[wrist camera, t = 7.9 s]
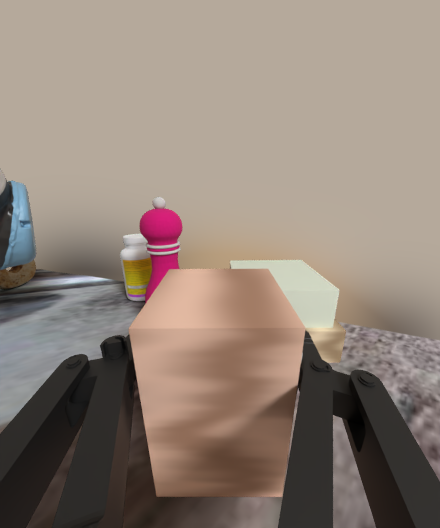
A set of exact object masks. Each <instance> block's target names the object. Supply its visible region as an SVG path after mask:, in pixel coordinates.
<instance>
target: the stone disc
mask: <svg viewBox="0 0 440 528" xmlns="http://www.w3.org/2000/svg"><path fill="white" fill-rule="evenodd" d="M35 270H36V265H35V262H34V260H33V261H31V262H30V263H27V264H23V265H18V266H13V267H12V268H11V270H9V271H7V270H6V269H3V270H0V289H10V288H14V287H17V286H20V285H22V284H24V283H26V282H28V281H29V280H31V279H32V278H33V276H34V274H35Z"/></svg>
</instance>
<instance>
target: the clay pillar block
mask: <svg viewBox="0 0 440 528" xmlns="http://www.w3.org/2000/svg"><path fill="white" fill-rule="evenodd" d="M305 329H306V328H305V326H304V325H303V323H302V321H301V320H300V318H299V317H298V315H297V313H296V312H295V310H294V309H293V307H292V306H291V304H290V302H289V301H288V299H287V298H286V296H285V295H284V293H283V291H282V290H281V288H280V287H279V285H278V283H277V282H276V280H275V279H274V277H273V276H272V274H271V272H270V271H269V269H169V271H168V272H167V273H166V275H165V276H164V278H163V279H162V281H161V282H160V284H159V285H158V287H157V288H156V289H155V291H154V292H153V294H152V295H151V297H150V298H149V300H148V301H147V303H146V304H145V305H144V307H143V308H142V310H141V311H140V313H139V314H138V316H137V317H136V319H135V320H134V321H133V323H132V324H131V326H130V327H129V334H130V340H131V346H132V352H133V358H134V364H135V370H136V376H137V382H138V388H139V394H140V400H141V406H142V412H143V418H144V424H145V430H146V436H147V442H148V448H149V454H150V460H151V466H152V472H153V478H154V484H155V490H156V496H157V497H282V494H283V487H284V480H285V473H286V465H287V458H288V451H289V444H290V437H291V430H292V422H293V415H294V408H295V401H296V394H297V386H298V379H299V372H300V365H301V358H302V351H303V343H304V336H305Z"/></svg>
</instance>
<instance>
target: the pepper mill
mask: <svg viewBox="0 0 440 528" xmlns="http://www.w3.org/2000/svg"><path fill="white" fill-rule="evenodd" d="M165 205H166V203H165V200H164V199H163V198H161V197H156V198H155V199H154V200H153V206H154V208H155V209H152V210H149V211H148V212H146V213H145V214H144V215H143V216H142V218H141V220H140V232H141V234H142V235H143V237H144V238H145V239H146V240H147V241H148V243H146V247H147V250H146V252H147V253H148V254H150V257H151V262H152V273H151V277H150V281H149V283H148V286H147V289H146V293H145V304H146V303H147V301H148V300H149V298H150V297H151V295H152V294H153V292H154V291H155V289H156V288H157V287H158V285H159V284H160V282H161V281H162V279H163V278H164V276H165V275H166V273H167V272H168V271H169V269H179V266H178V252H179V251H180V246H179V244H180V242H179V241H177V239H178V237H179V236H180V234H181V232H182V222H181V219H180V218H179V216H178V215H177V214H176V213H175V212H173V211H172V210H169V209H164V207H165Z"/></svg>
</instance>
